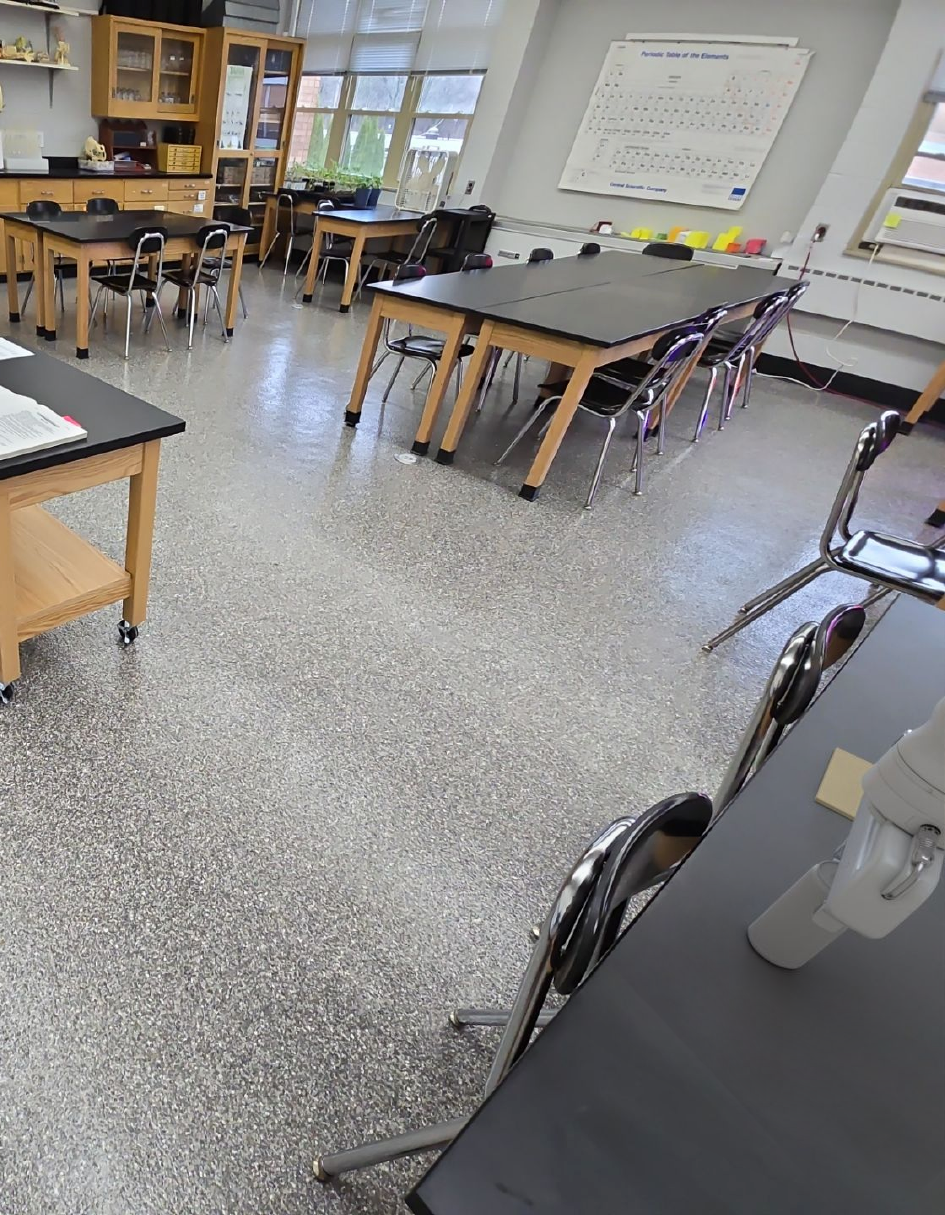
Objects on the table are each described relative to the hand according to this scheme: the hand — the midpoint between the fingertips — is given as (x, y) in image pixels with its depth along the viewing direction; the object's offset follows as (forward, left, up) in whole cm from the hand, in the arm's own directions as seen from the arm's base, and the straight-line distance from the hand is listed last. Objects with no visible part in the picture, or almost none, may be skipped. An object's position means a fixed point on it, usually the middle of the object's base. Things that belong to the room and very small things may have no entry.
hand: (832, 891), depth 67 cm
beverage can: (0, 0, -10) cm, 10 cm away
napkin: (-14, -31, -10) cm, 35 cm away
